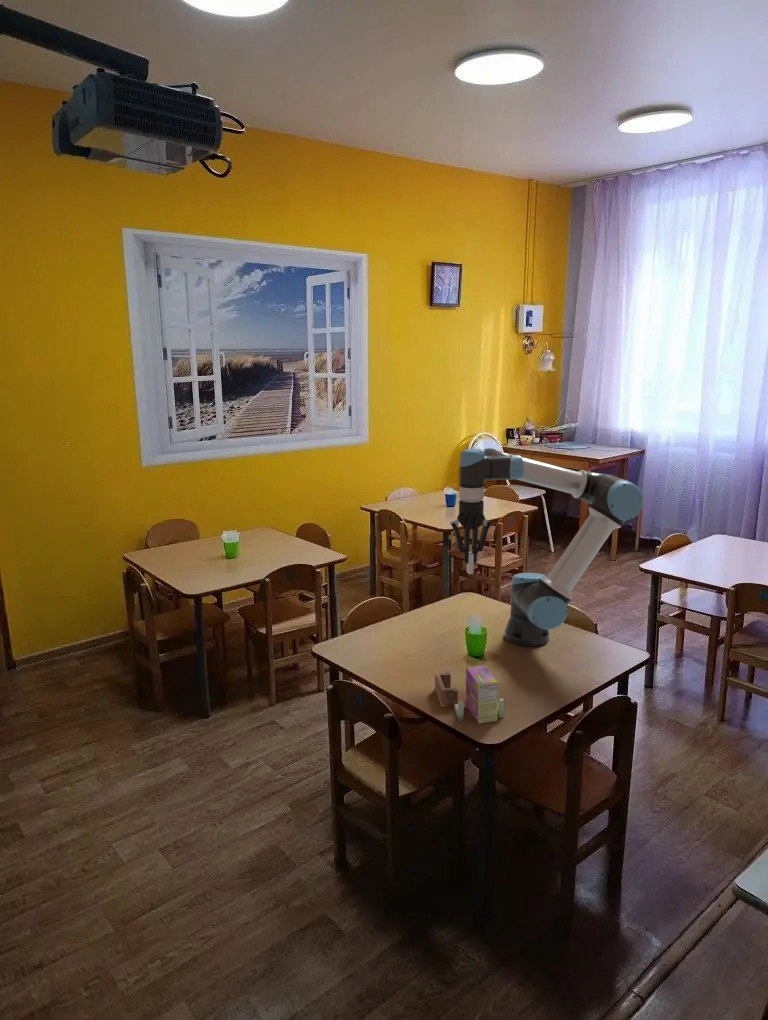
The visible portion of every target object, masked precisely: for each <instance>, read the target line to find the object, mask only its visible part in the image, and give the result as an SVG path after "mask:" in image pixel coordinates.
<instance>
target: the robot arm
mask: <svg viewBox="0 0 768 1020" xmlns="http://www.w3.org/2000/svg"><path fill="white" fill-rule="evenodd" d="M459 454H460V455H459V464H458V466H459V489H458V490H459V491H458V492H459V494H458V498H459V501H458V515H457V517H456V519H455V520H452V521H450V522H449V525H450V526H451V527H452V528H453V529H452V530H453V533H454V537H455V542H456V545H457V546H456V547H457V549H458V550H459V552H460V553H463V562H464V564H466V573H467V574H468V575H474V564H476V563H477V560H478V559H477V557H478V556H477V555H478V553H479V552H482V551H484V547H485V545H486V544H485V543H486V539H487V535H488V531H489V529H490V528H491V526H492V522H491V520H490V519H486V517H485V514H484V505H485V504H484V500H483V499H484V498H485V481H502V480H503V481H504V480H505V481H506V480H507V481H508V480H509V481H512V480H517V481H521V482H524V483H529V484H533V485H536V486H540V487H544V488H546V489H547V488H548V489H552V490H555V491H559V492H563V493H567V494H571V496H572V497H573V498H574V499H579V500H581V501H583V502H586V503H588V504H590V505H589V506H588V513H589V515H588V517H587V518H586V519H585V521H584V522H583V524H582V525H581V527H580V529H579V530H578V531H577V533H575V536H574V537H573V539H572V540H571V541H570V542H569V545H568V546H566V549H565V550H564V552H563V554H562V555H561V556H560V558H559V559H558V561H557V562H556V564H555V565H554V566H553V568H552V569H551V571H550V572H549V574H548V575H547V576H546V575H545V574H542V573H538V572H537V573H536V572H521V573H520V572H519V573H516V574H513V575H512V578H511V582H510V615H509V619H508V621H507V623H506V625H505V628H504V639H505V640H506V641H508V642H509V643H511V644H513V645H518V646H523V647H538V646H543V645H546V644H547V643H548V642H549V640H550V632H549V631H550V630H551V629H552V630H553V629H556V628H558V627H560V626H561V625H562V624H563V623H564V622H565V621H566V619H567V616H568V607H567V606H568V605H569V603H570V602H571V601H572V590H573V589H574V587H575V586H576V584H577V582H578V581H579V580H580V579H581V578H582V576H583V574H584V573H585V571H586V569H587V568H588V567H589V565H590V564H591V562H592V561H593V559H594V558H595V557H596V555H597V554H598V553H599V551H600V549H601V548H602V547H603V545H604V543H605V542H607V539H608V538H609V537H610V535H611V534H612V532H613V531H614V530H616V529H620V528H622V526H623V525H624V524H625V522H626V521H629V520H632V519H634V518H635V517H638V515H639V514H640V513H641V510H642V508H643V505H644V498H643V494H642V493H643V492H642V491H641V489H640V488H639V487H638V485H636V484H635V483H632V482H631V481H629V480H627V479H623V478H620V477H618V476H616V475H613V474H608V473H600V472H593V471H589V470H585V469H580V470H578V471H576V470H572V469H570V468H569V469H567V468H565V467H562V466H557V465H553V464H550V463H546V462H542V461H538V460H534V459H531V458H527V457H523V456H521V455H518V454H511V453H507V452H504V451H500V450H496V449H495V448H491V447H489V448H488V447H487V448H484V449H480V448H467V449H466V448H465V449H463V450H461V451H460V453H459ZM459 523H460V525H461V526H462V528H463V542H462V538H461V533H460V530H459V528H458V527H460V525H459ZM481 525H483V526H482V528H481V533H480V535H479V539H478V533H479V528H480V526H481ZM470 533H471V551H470Z"/></svg>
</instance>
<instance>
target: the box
mask: <svg viewBox="0 0 768 1020" xmlns="http://www.w3.org/2000/svg"><path fill="white" fill-rule="evenodd" d="M498 697H499V681H498V680H497V679H496V678H495V676H494V675H493V674H492V673H491V672H490V670H489V668H487V667H486V665H476V666H469V667H468V666H467V667H465V706H466V707H467V710H468V711H469V712H470V714H471V716H473V718H474V720H475V722H476V723H477V724H487V723H493V722H494V723H495V722H498V714H497V711H498V703H499V698H498Z"/></svg>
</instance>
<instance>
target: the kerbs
mask: <svg viewBox="0 0 768 1020" xmlns="http://www.w3.org/2000/svg"><path fill="white" fill-rule="evenodd" d="M464 703H465V702H464V701H463V700H460V701H459V700H458V704H454V707H453V708H454V712H455V714H456V717H457V719H458V721H464V708H465V707H464ZM504 713H505V700H504V698H498V711H497V717H499V718H505V717H504V716H505V714H504Z"/></svg>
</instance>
